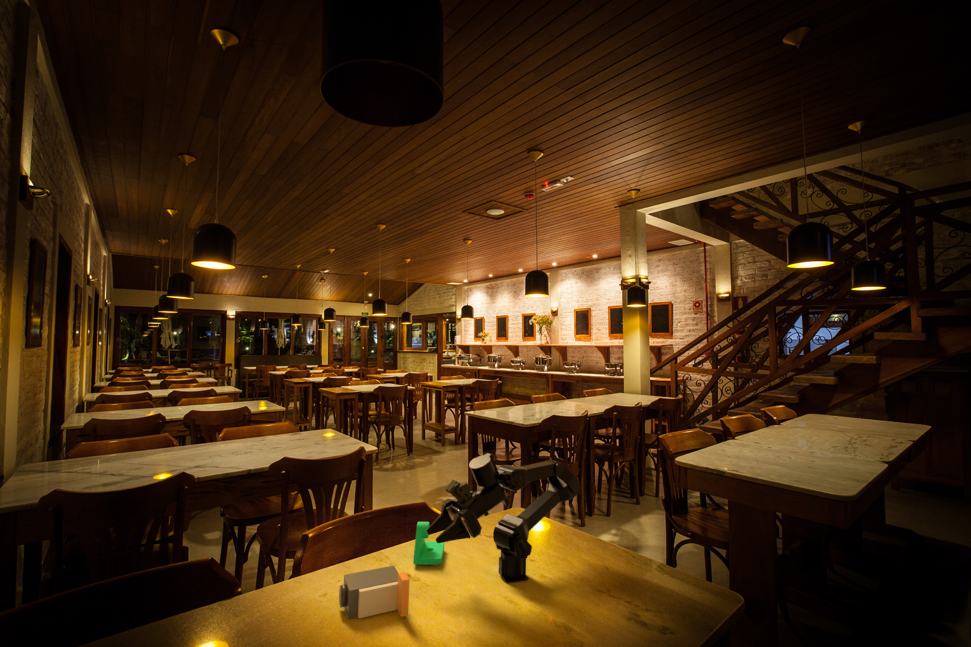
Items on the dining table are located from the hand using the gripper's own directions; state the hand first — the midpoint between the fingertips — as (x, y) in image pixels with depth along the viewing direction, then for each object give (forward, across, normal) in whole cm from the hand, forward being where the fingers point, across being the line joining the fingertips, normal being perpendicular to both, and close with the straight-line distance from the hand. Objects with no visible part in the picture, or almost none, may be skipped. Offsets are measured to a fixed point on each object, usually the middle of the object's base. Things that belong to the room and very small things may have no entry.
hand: (431, 536), depth 106 cm
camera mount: (+1, -23, +13) cm, 27 cm away
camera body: (+18, -4, +6) cm, 20 cm away
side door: (+17, +3, +7) cm, 19 cm away
